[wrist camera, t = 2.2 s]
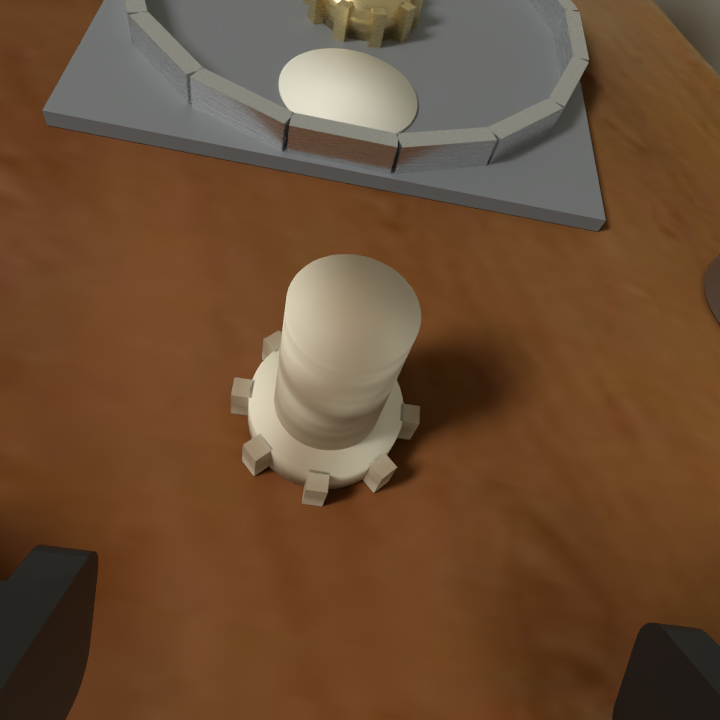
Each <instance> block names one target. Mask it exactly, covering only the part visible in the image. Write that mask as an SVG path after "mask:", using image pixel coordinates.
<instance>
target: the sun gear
mask: <svg viewBox="0 0 720 720" xmlns="http://www.w3.org/2000/svg"><path fill="white" fill-rule="evenodd" d="M303 3H304V4H308V5H309V9H308V19H309V20H310V21H311V22H312V23H313V25H315V24H321V23H323V24H325V25H326V26H327V27H328V28H330V29H332V30H333V34H332V38H335V39H337V40H339V41H342V42H344V41H345V40H346V39H347V38H348V37H349V38H353V39H357V40H362V41H366V43H367V46H368V48H380V46H381V42H382V41H384V40H389V39H394V40H395V41H397V42H398V43H400V44H401V43H403V42H405V41H406V40H408V37H409V33H410V29H411V28H416V26H417V23H418V19H419V15H420V11H421V7H422V3H423V0H303Z"/></svg>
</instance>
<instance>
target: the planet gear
mask: <svg viewBox="0 0 720 720" xmlns="http://www.w3.org/2000/svg"><path fill="white" fill-rule="evenodd" d="M420 324H421V310H420V305H419V302H418V299H417V296H416V294H415V292H414V290H413V289H412V288H411V286H410V285H409V283H408V282H407V281H406V280H405V279H404V278H403V277H402V276H401V275H400V274H399V273H398V272H396V271H395V270H394V269H392V268H391V267H389V266H387V265H386V264H384V263H382V262H379V261H377V260H375V259H372V258H369V257H365V256H360V255H353V254H339V255H331V256H327V257H323V258H320V259H318V260H316V261H313V262H311V263H310V264H308V265H307V266H305V267H304V268H303V269H302V270H300V271H299V273H298V274H297V275H296V276H295V277H294V279H293V280H292V282H291V284H290V286H289V289H288V293H287V297H286V305H285V313H284V321H283V329H282V333H281V332H280V331H277V332H275V333H273V334H272V335H270V336H268V337H267V338H265V339H264V341H263V353H262V360H263V362H262V363H261V365H260V366H259V368H258V369H257V371H256V373H255V375H254V377H253V380H249V379H242V378H236V377H235V379H234V383H233V388H232V392H231V413H234V414H241V415H248V427H249V433H250V436H251V440H250V441H248V442H247V443H245V444H244V445H243V455H242V461H243V463H244V464H245V465H246V466H247V468H248V469H249V470H250V472H251V473H252V474H253V476H256V475H257V474H258V473H260V472H261V471H263V470H264V469H266V468H267V467H270V468H271V469H272V470H273V471H275V472H276V473H277V474H279V475H280V476H282V477H283V478H285V479H287V480H289V481H291V482H293V483H295V484H298V485H301V486H304V491H303V499H302V504H309V505H316V506H323V503H324V501H325V498H326V496H327V493H328V489H336V488H342V487H346V486H349V485H352V484H355V483H357V482H359V481H361V480H363V481H364V482H365V483H366V484H367V486H368V487H369V488H370V489H371V490H372V492H373V493H374V492H376V491H377V490H378V489H380V488H381V487H382V486H383V485H385V484H386V483H387V482H388V481H389V480H390V478H391V476H392V475H393V473H394V472H395V470H396V468H397V466H396V465H395V464H394V463H393V462H392V461H391V459H390V458H389V457H388V456H387V455H388V453H389V451H390V449H391V448H392V446H393V444H394V442H395V440H396V439H397V438H402V439H408V440H410V439H411V437H412V435H413V434H414V432H415V430H416V429H417V427H418V425H419V422H420V406H416V405H410V404H404V403H403V397H402V393H401V390H400V386H399V384H398V382H397V377H398V375H399V373H400V371H401V369H402V367H403V365H404V362H405V360H406V358H407V356H408V354H409V352H410V349H411V347H412V345H413V343H414V341H415V339H416V336H417V334H418V332H419V328H420Z"/></svg>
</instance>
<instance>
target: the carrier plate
mask: <svg viewBox="0 0 720 720" xmlns="http://www.w3.org/2000/svg"><path fill="white" fill-rule="evenodd" d="M145 3H146V7H147V11H148V12H149V13H150V14H151V15H152V16H153V17H154V18H155V19H156V20H157V21H158V22H159V23H160V24H161V25H162V26H163V27H164V28H165V29H166V30H167V31H168V32H169V33H170V34H171V35H172V36H173V37H174V39H175V40H176V41H177V42H178V43H179V44H180V45H181V46H182V47H183V48H184V49H185V50H186V51H187V52H188V53H189V54H190V55H191V56H192V57H193V58H194V59H195V60H196V61H197V62H198V63H199V64H200V65H201V66H202V67H203V68H205V69H207V70H209V71H211V72H213V73H215V74H217V75H219V76H221V77H223V78H225V79H227V80H229V81H231V82H233V83H235V84H237V85H239V86H241V87H243V88H245V89H247V90H249V91H251V92H253V93H256V94H258V95H260V96H262V97H264V98H266V99H268V100H270V101H272V102H274V103H276V104H278V105H280V106H282V107H284V108H286V109H288V110H290V111H292V112H294V113H299V114H304V115H309V116H314V117H319V118H324V119H329V120H333V121H338V122H343V123H348V124H353V125H358V126H363V127H368V128H373V129H378V130H383V131H387V132H392V133H410V132H424V131H438V130H452V129H467V128H481V127H489V126H491V125H493V124H495V123H497V122H500V121H502V120H504V119H506V118H508V117H510V116H512V115H514V114H516V113H518V112H520V111H522V110H525V109H527V108H529V107H531V106H533V105H535V104H537V103H539V102H541V101H543V100H545V99H548V98H549V97H550V95H551V93H552V91H553V90H554V88H555V86H556V85H557V83H558V81H559V79H560V73H559V67H558V60H557V54H556V47H555V41H554V34H553V33H552V32H551V30H550V29H549V27H548V26H547V25H546V23H545V22H544V21H543V19H542V18H541V17H540V15H539V14H538V13H537V11H536V10H535V8H534V7H533V6H532V4H531V3H530V2H529V0H423V3H422V7H421V11H420V15H419V19H418V23H417V26H416V28H411V29H410V33H409V37H408V40H406V41H405V42H403V43H401V44H400V43H398V42H397V41H395V40H394V39H389V40H384V41H382V42H381V46H380V48H368V46H367V43H366V41H362V40H357V39H353V38H349V37H348V38H347V39H346V40H345V41H344V42H342V41H339V40H337V39H335V38H332V34H333V30H332V29H330V28H328V27H327V26H326V25H325V24H323V23H321V24H315V25H313V23H312V22H311V21H310V20H309V19H308V9H309V5H308V4H304V3H303V0H145ZM42 111H43V114H44V117H45V121H46V124H47V125H49V126H54V127H59V128H64V129H69V130H75V131H80V132H85V133H90V134H95V135H100V136H106V137H111V138H116V139H121V140H126V141H132V142H137V143H142V144H147V145H152V146H157V147H163V148H168V149H173V150H178V151H183V152H189V153H194V154H199V155H204V156H209V157H214V158H220V159H225V160H230V161H235V162H240V163H245V164H251V165H256V166H261V167H266V168H271V169H277V170H282V171H287V172H292V173H297V174H302V175H308V176H313V177H318V178H323V179H328V180H334V181H339V182H344V183H349V184H354V185H359V186H365V187H370V188H375V189H380V190H385V191H391V192H396V193H401V194H406V195H411V196H416V197H422V198H427V199H432V200H437V201H442V202H448V203H453V204H458V205H463V206H468V207H473V208H479V209H484V210H489V211H494V212H499V213H504V214H510V215H515V216H520V217H525V218H530V219H536V220H541V221H546V222H551V223H556V224H561V225H567V226H572V227H577V228H582V229H587V230H593V231H599V229H600V228H601V226H602V225H603V224H604V222H605V221H606V219H605V213H604V208H603V202H602V197H601V191H600V186H599V181H598V175H597V170H596V164H595V159H594V153H593V148H592V142H591V137H590V131H589V126H588V121H587V115H586V110H585V104H584V99H583V93H582V88H581V82H580V80H579V82H578V84H577V86H576V87H575V89H574V91H573V93H572V95H571V97H570V98H569V100H568V102H567V104H566V106H565V108H564V110H563V111H562V113H561V115H560V117H559V119H558V121H557V122H556V124H555V126H554V128H553V130H552V131H551V132H550V133H549V134H547V135H545V136H543V137H541V138H539V139H538V140H536V141H534V142H532V143H530V144H528V145H526V146H524V147H522V148H520V149H518V150H516V151H514V152H513V153H511V154H509V155H507V156H505V157H503V158H501V159H499V160H497V161H495V162H493V163H491V164H490V165H489V164H488V163H487V164H486V166H476V167H465V168H454V169H444V170H433V171H422V172H411V173H400V174H395V173H394V171H393V169H391V172H390V174H389V173H384V172H379V171H373V170H368V169H363V168H358V167H353V166H348V165H343V164H338V163H333V162H328V161H322V160H317V159H312V158H307V157H302V156H297V155H292V154H287V147H286V148H285V149H284V150H283V151H282V152H281V151H279V150H277V149H275V148H273V147H271V146H269V145H267V144H265V143H263V142H261V141H259V140H257V139H255V138H253V137H251V136H249V135H247V134H245V133H243V132H241V131H240V130H238V129H236V128H234V127H232V126H230V125H228V124H226V123H224V122H222V121H220V120H218V119H216V118H214V117H212V116H210V115H208V114H206V113H204V112H202V111H200V110H198V109H196V108H194V107H192V103H190V104H188V103H187V102H186V101H185V100H184V99H183V98H182V97H181V96H180V95H179V94H178V92H177V91H176V90H175V89H174V88H173V87H172V86H171V85H170V84H169V83H168V82H167V81H166V80H165V79H164V78H163V77H162V76H161V75H160V74H159V72H158V71H157V70H156V69H155V68H154V67H153V66H152V65H151V64H150V63H149V62H148V61H147V60H146V59H145V58H144V57H143V56H142V55H141V53H140V52H139V51H138V50H137V49H136V48H135V47H134V46H133V43H132V42H131V37H130V33H129V28H128V24H127V20H126V15H125V11H124V6H123V2H122V0H104V1H103V3H102V5H101V7H100V8H99V10H98V12H97V14H96V16H95V17H94V19H93V21H92V23H91V25H90V26H89V28H88V30H87V32H86V33H85V35H84V37H83V39H82V41H81V42H80V44H79V46H78V48H77V50H76V51H75V53H74V55H73V57H72V59H71V60H70V62H69V64H68V66H67V67H66V69H65V71H64V73H63V75H62V76H61V78H60V80H59V82H58V84H57V85H56V87H55V89H54V91H53V92H52V94H51V96H50V98H49V100H48V101H47V103H46V105H45V107H44V109H43V110H42Z"/></svg>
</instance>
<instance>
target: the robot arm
mask: <svg viewBox="0 0 720 720" xmlns="http://www.w3.org/2000/svg"><path fill="white" fill-rule="evenodd" d="M704 288H705V294H706V298H707V300H708V303H709V306H710V308H711V310H712V312H713V313H714V315H715V317H716V318H717V320H718V321H719V323H720V255H719V256H718V257H717V258H716V259H715V260H714V261H713V262H712V263H711V264H710V265H709V266H708V269H707V271H706V273H705V279H704ZM97 573H98V555H97V553H96V552H94V551H87V550H79V549H71V548H63V547H55V546H47V545H38V546H36V547H35V548H34V549H33V550H32V551H31V552H30V553H29V554H28V556H27V557H26V558H25V559H24V560H23V562H22V563H21V564H20V565H19V566H18V568H17V569H16V570H15V571H14V572H13V574H12V575H11V576H10V577H9V578H8V579H7V581H3V580H0V720H65V719H66V717H67V715H68V713H69V711H70V709H71V707H72V705H73V703H74V701H75V699H76V696H77V694H78V691H79V688H80V686H81V682H82V679H83V676H84V672H85V668H86V664H87V660H88V655H89V648H90V639H91V629H92V620H93V611H94V601H95V592H96V582H97ZM612 720H720V647H719V646H718V644H717V643H716V642H715V641H714V640H713V639H712V638H711V637H710V636H709V635H708V634H707V633H706V632H704V631H703V630H701V629H698V628H691V627H683V626H675V625H667V624H659V623H647V624H646V625H644V626H643V627H642V628H641V629H640V631H639V633H638V635H637V638H636V641H635V644H634V647H633V650H632V653H631V656H630V659H629V662H628V665H627V668H626V672H625V675H624V678H623V681H622V684H621V687H620V690H619V693H618V696H617V699H616V702H615V706H614V710H613V719H612Z"/></svg>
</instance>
